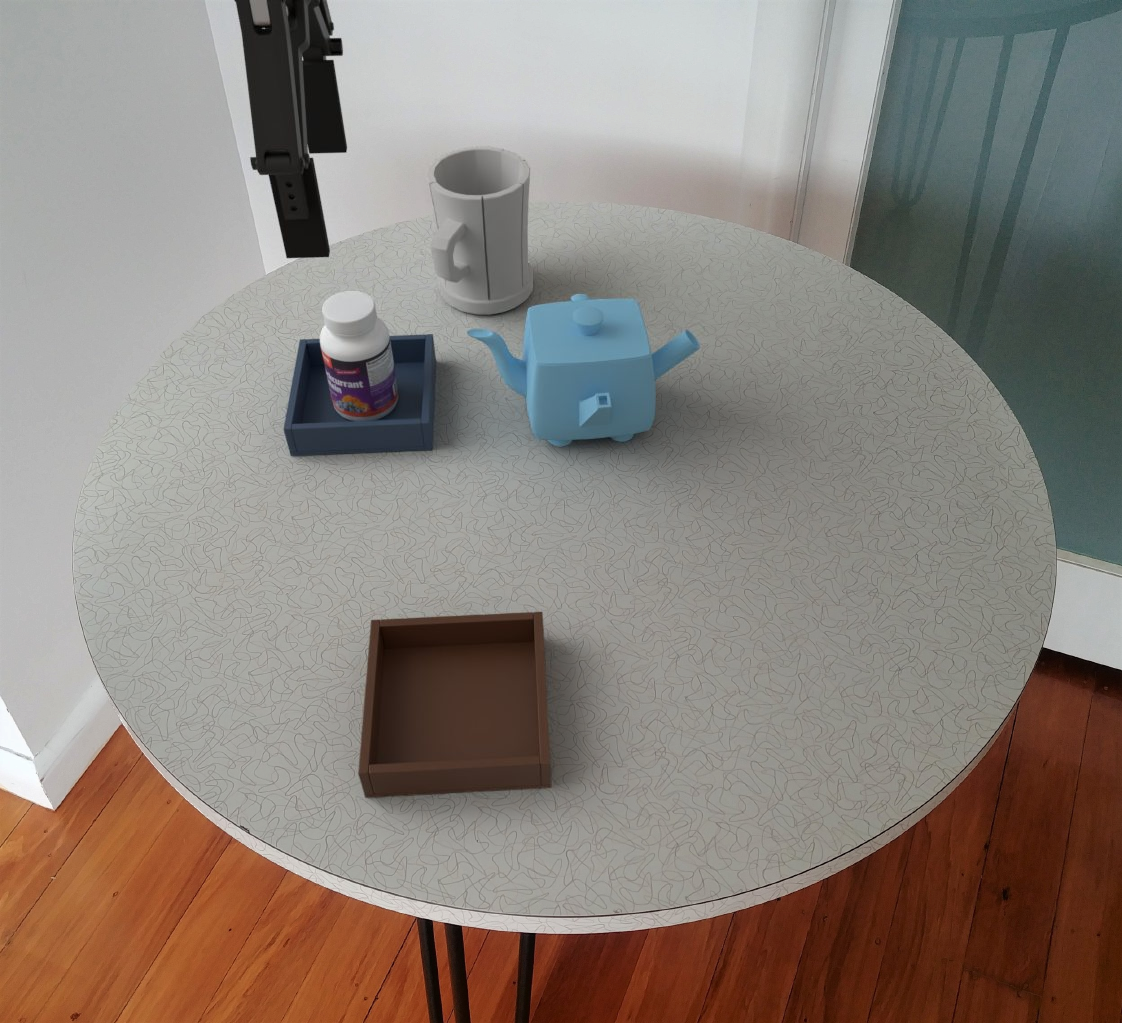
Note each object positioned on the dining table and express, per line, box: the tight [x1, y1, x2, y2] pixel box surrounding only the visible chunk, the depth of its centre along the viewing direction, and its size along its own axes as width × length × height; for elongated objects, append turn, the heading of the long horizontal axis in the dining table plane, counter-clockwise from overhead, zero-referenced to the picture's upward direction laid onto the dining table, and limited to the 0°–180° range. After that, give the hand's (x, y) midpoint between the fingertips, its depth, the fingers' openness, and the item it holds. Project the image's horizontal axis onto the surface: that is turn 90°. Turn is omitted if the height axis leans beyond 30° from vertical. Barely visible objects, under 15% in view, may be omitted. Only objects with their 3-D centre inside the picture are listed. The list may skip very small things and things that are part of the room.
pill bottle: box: [319, 290, 398, 421], centre depth 84 cm, size 5×5×10 cm
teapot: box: [466, 293, 701, 448], centre depth 83 cm, size 18×14×10 cm
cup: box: [425, 145, 534, 316], centre depth 94 cm, size 10×9×12 cm
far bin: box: [283, 333, 437, 457], centre depth 87 cm, size 11×11×3 cm
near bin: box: [357, 611, 552, 799], centre depth 66 cm, size 11×11×3 cm
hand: (319, 200), depth 73 cm, fingers open, 13 cm apart
